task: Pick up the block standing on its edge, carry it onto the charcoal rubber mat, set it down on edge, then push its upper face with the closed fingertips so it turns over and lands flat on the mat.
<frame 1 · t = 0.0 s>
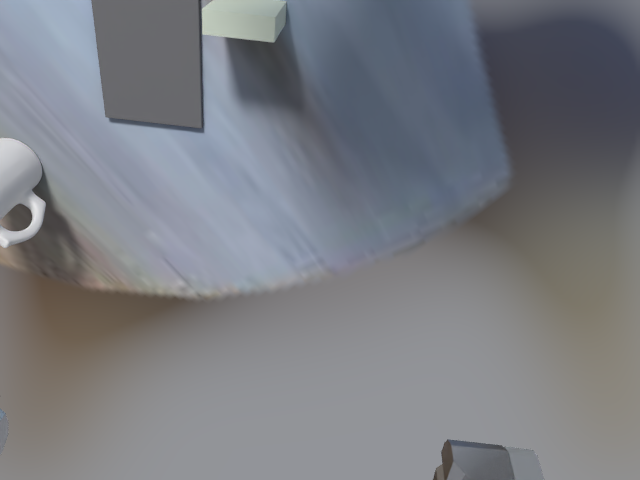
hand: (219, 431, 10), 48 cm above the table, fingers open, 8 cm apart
block: (253, 9, 52), on the table
mug: (29, 172, 63), on the table
mat: (150, 52, 55), on the table
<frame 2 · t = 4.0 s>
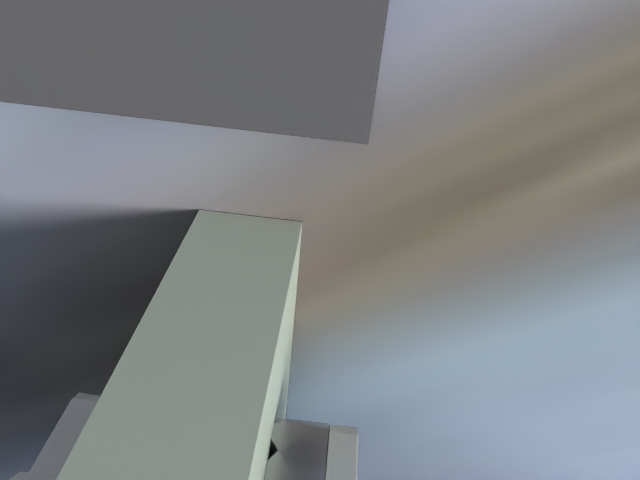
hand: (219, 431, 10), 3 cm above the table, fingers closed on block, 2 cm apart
block: (247, 332, 12), on the table, touching gripper
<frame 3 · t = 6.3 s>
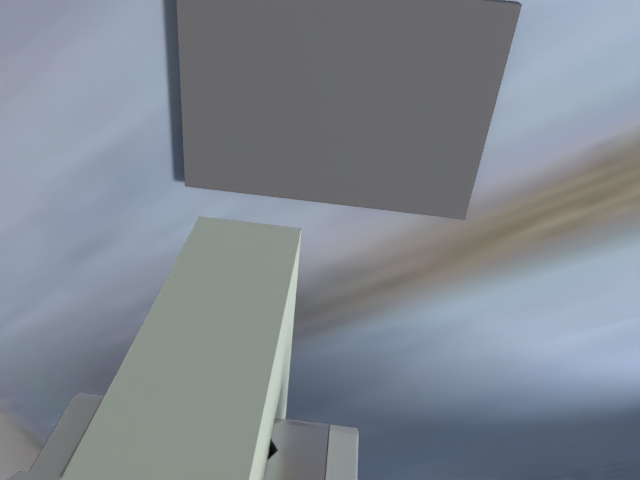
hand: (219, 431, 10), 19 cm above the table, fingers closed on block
block: (247, 338, 13), point 16 cm above the table, touching gripper
mat: (335, 101, 26), on the table
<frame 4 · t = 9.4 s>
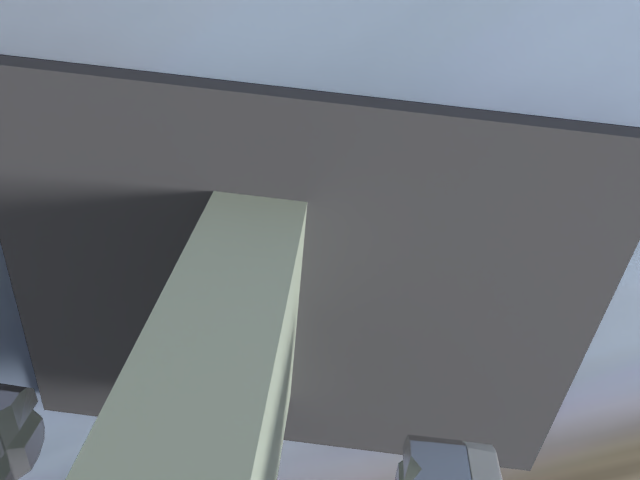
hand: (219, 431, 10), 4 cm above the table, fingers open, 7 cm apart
block: (256, 306, 14), point 1 cm above the table, touching mat
mat: (299, 289, 14), on the table
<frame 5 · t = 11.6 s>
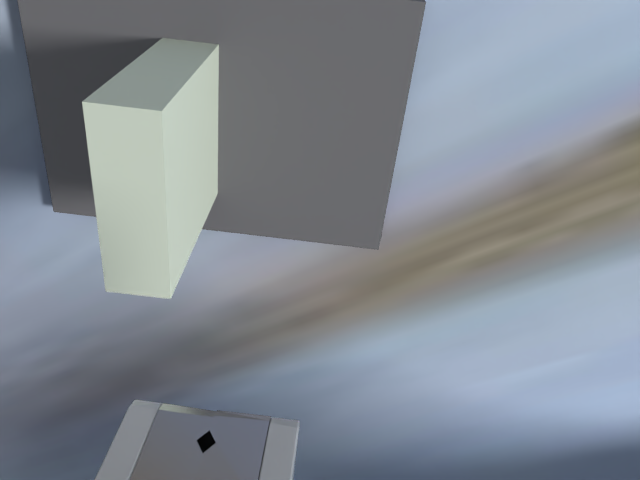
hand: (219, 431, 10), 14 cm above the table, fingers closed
block: (192, 121, 22), point 1 cm above the table, touching mat
mat: (220, 114, 22), on the table
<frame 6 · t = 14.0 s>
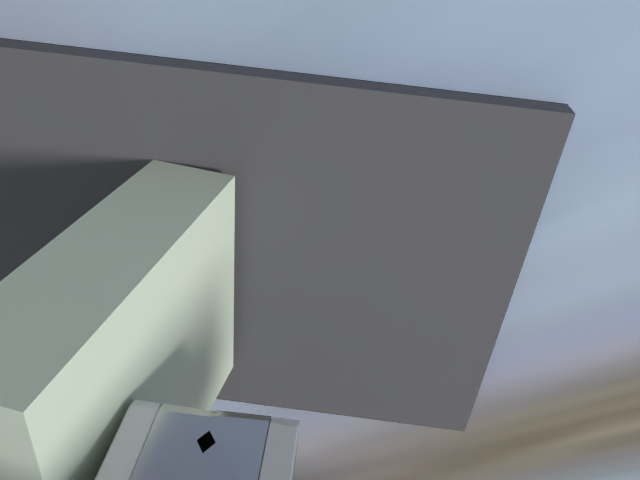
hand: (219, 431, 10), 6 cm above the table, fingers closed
block: (197, 273, 14), point 1 cm above the table, tilted 9°, touching mat
mat: (241, 255, 15), on the table
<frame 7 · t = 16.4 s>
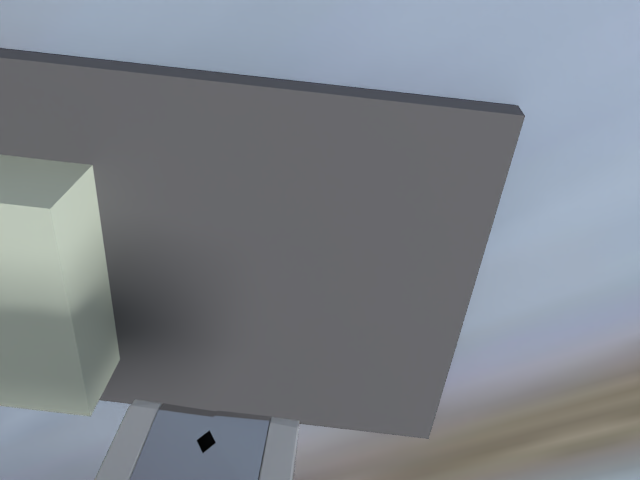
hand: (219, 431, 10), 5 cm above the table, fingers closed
block: (91, 298, 13), point 2 cm above the table, tilted 90°, touching mat
mat: (193, 262, 15), on the table
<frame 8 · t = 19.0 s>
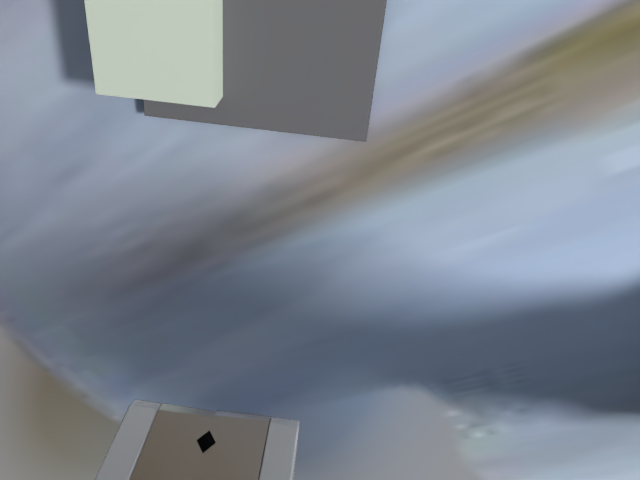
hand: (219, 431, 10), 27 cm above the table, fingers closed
block: (218, 50, 32), point 2 cm above the table, tilted 90°, touching mat
mat: (259, 44, 33), on the table
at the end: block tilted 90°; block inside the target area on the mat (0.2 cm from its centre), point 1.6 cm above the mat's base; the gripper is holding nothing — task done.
